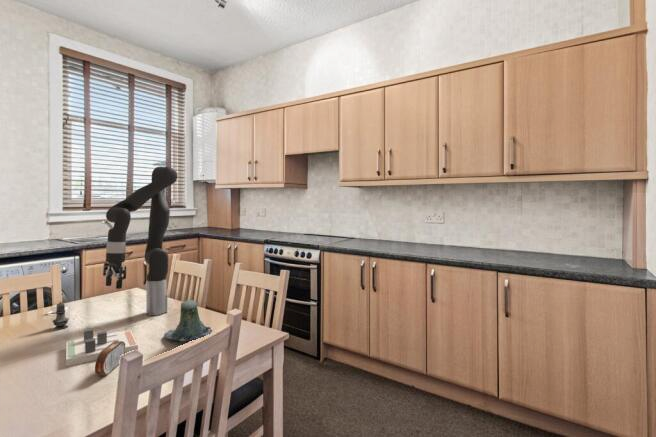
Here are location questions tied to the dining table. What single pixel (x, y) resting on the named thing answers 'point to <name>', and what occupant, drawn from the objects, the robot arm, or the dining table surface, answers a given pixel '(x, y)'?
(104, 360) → the tin
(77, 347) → the board
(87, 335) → the block
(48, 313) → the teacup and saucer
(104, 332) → the block
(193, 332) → the green bell-shaped piece
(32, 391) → the dining table surface
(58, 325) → the grey chess pawn
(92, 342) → the block
